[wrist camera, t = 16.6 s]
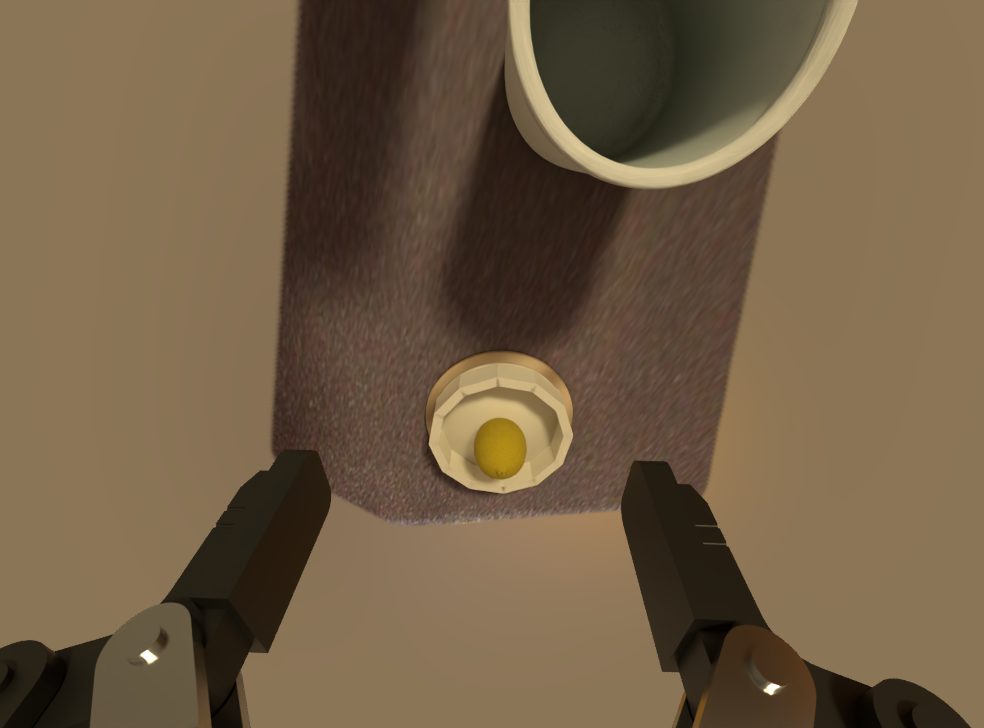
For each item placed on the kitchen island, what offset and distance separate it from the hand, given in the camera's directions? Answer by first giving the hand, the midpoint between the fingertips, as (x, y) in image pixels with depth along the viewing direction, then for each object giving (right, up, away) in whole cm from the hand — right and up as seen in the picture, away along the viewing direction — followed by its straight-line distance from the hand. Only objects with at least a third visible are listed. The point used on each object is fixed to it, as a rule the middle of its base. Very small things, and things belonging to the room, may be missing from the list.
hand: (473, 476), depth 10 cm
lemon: (+1, -4, +35) cm, 36 cm away
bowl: (+1, -3, +36) cm, 36 cm away
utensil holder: (+8, +26, +22) cm, 35 cm away
